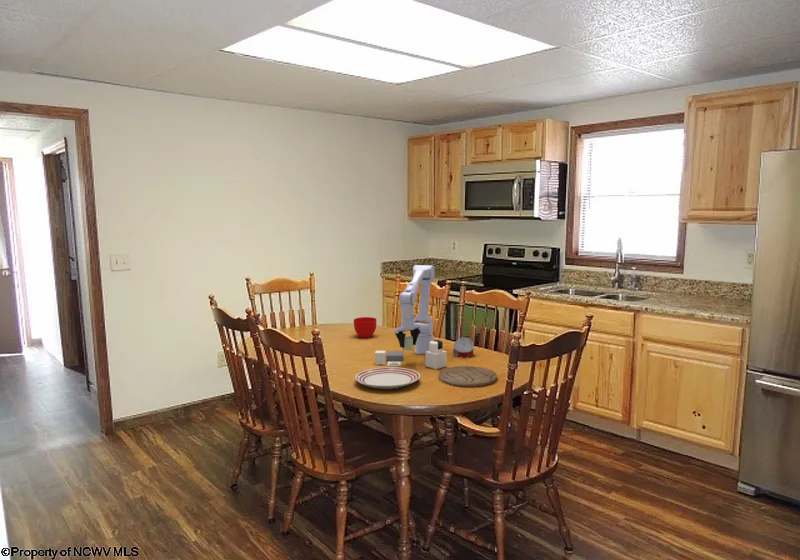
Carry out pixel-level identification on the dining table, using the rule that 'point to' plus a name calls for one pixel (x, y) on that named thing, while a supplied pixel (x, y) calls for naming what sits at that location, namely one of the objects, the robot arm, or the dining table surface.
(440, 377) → the trivet
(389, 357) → the base slab
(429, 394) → the dining table surface
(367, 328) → the ceramic cup
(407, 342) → the sage block
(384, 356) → the offwhite block
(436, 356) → the medicine bottle
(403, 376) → the dinner plate
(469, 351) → the canned food
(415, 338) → the robot arm
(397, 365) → the card
